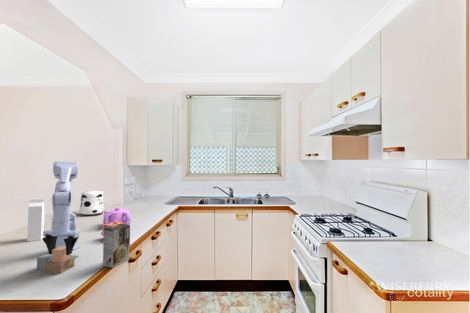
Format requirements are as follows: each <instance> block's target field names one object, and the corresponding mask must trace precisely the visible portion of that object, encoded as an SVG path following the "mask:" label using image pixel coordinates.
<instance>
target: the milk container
mask: <svg viewBox="0 0 470 313" xmlns="http://www.w3.org/2000/svg"><path fill="white" fill-rule="evenodd" d="M80 196H81V197H80V205H79V214H80V215H82V216H97V215H100V214H103V213H104V210H105V205H104V191H102V190H101V191H100V190H88V191H83V192H81V194H80Z"/></svg>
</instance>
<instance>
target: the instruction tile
mask: <svg viewBox="0 0 470 313" xmlns="http://www.w3.org/2000/svg"><path fill="white" fill-rule="evenodd" d="M69 257H73V258H75V259H76V258H78V257H79V255H77V254H76V255H74V254H70V255H69Z"/></svg>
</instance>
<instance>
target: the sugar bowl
mask: <svg viewBox="0 0 470 313" xmlns="http://www.w3.org/2000/svg"><path fill="white" fill-rule="evenodd" d="M120 223H122V222H118V221H113V223H110V224H104V225H103V224H102V226H101V227H102V228H101V229H102V231H101V233H100V235H101V236H103V238H104V228H105V227H104V226H105V225H107V227H110V226H113V225H116V224H120ZM122 224H123V223H122Z"/></svg>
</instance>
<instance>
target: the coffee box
mask: <svg viewBox="0 0 470 313" xmlns="http://www.w3.org/2000/svg"><path fill="white" fill-rule="evenodd" d="M130 228H131V224H129V225H126V224H122V223H120V224H116V225H113V226H110V227H106V228H105V227H104V233H103V234H104V237H103V244H102V246H103V247H102V248H103V249H102V250H103V251H102V266H105V267H108V268H111V269H113V268H116V267H118V266H120V265H122V264H124V263H126V262H128V261H130V253H131V252H130V244H131V241H130V240H131V239H130V238H131V229H130Z"/></svg>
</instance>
